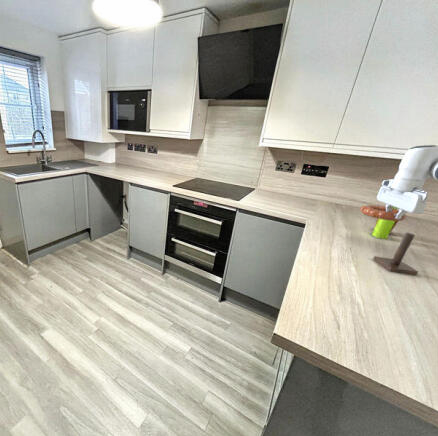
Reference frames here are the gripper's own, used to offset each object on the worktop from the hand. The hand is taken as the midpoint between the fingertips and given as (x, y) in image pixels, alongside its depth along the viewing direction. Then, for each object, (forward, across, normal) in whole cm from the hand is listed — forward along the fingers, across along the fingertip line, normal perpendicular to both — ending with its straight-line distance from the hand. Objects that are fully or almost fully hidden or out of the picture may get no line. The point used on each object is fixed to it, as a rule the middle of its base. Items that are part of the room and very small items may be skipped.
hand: (392, 216), depth 102 cm
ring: (0, +6, 0) cm, 6 cm away
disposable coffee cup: (+16, +26, -19) cm, 36 cm away
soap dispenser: (+16, +18, -12) cm, 27 cm away
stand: (+16, -17, +5) cm, 24 cm away
